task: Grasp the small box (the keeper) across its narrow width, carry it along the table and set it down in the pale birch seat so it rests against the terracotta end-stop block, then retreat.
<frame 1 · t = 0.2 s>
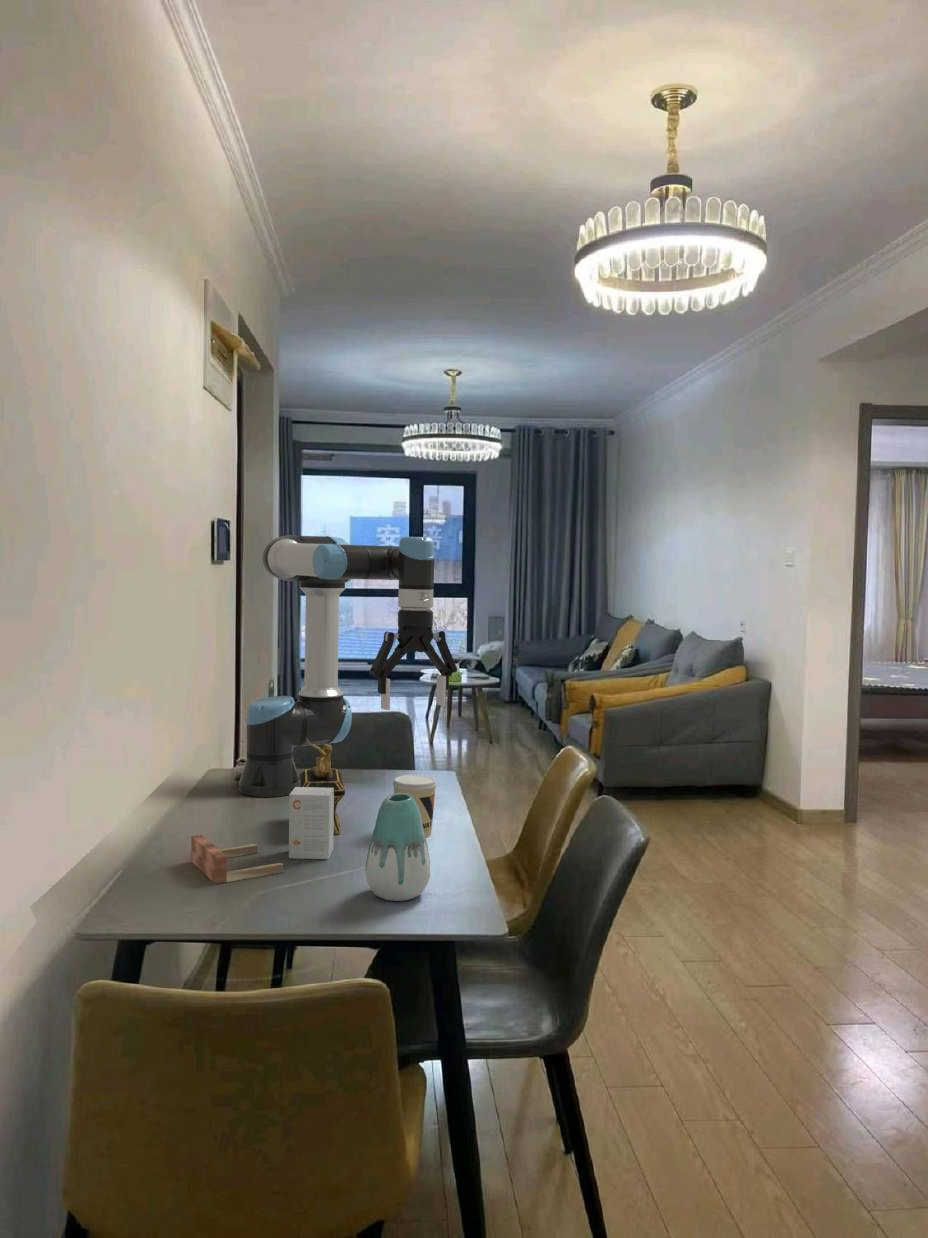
hand: (413, 707, 201), 28 cm above the table, fingers open, 13 cm apart
coffee cup: (413, 834, 202), on the table
keeper seat: (239, 866, 178), on the table
vase: (397, 895, 166), on the table
small box: (311, 855, 187), on the table
decorative box: (320, 829, 204), on the table
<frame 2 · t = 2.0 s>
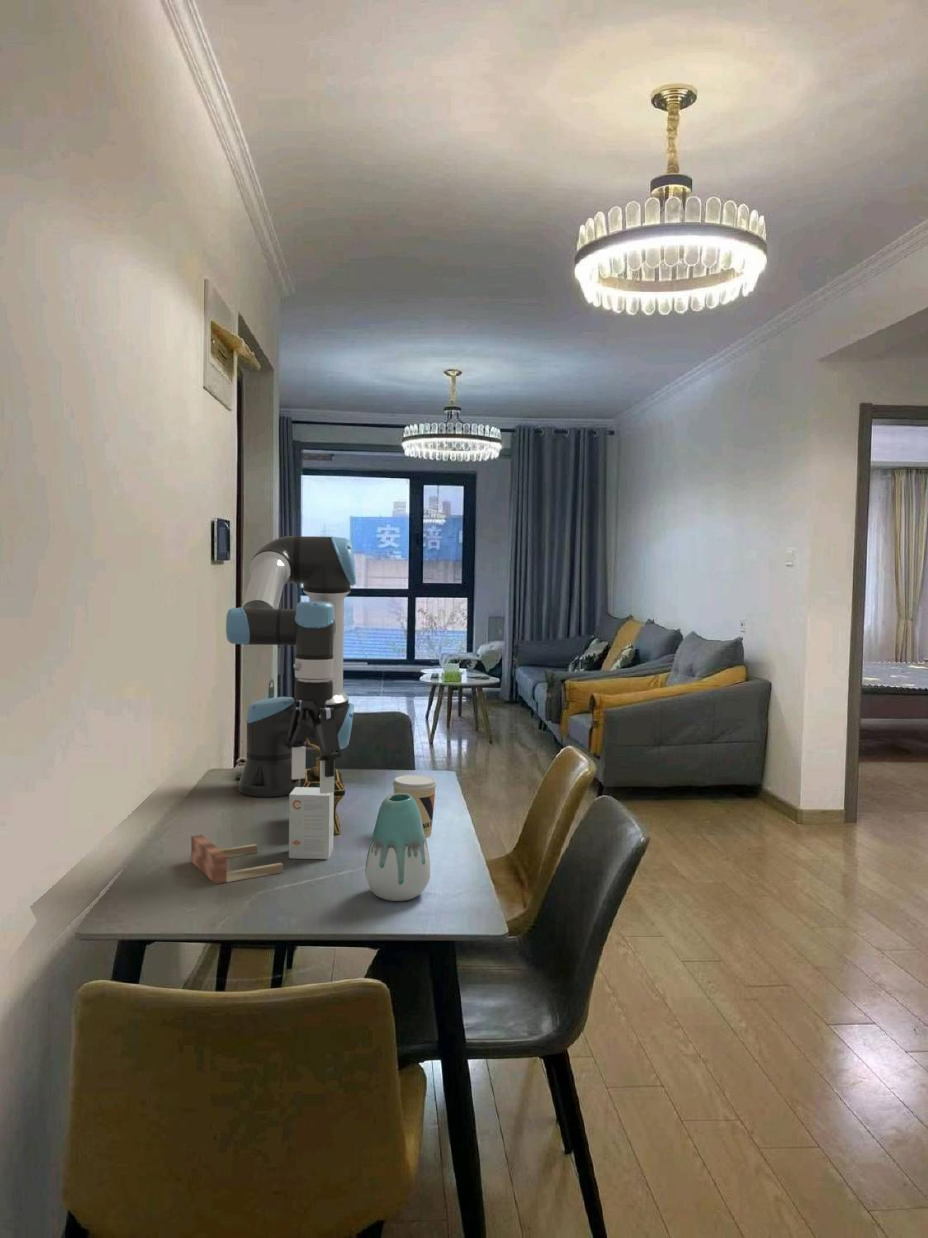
hand: (312, 785, 185), 14 cm above the table, fingers open, 13 cm apart
nothing on the table moved.
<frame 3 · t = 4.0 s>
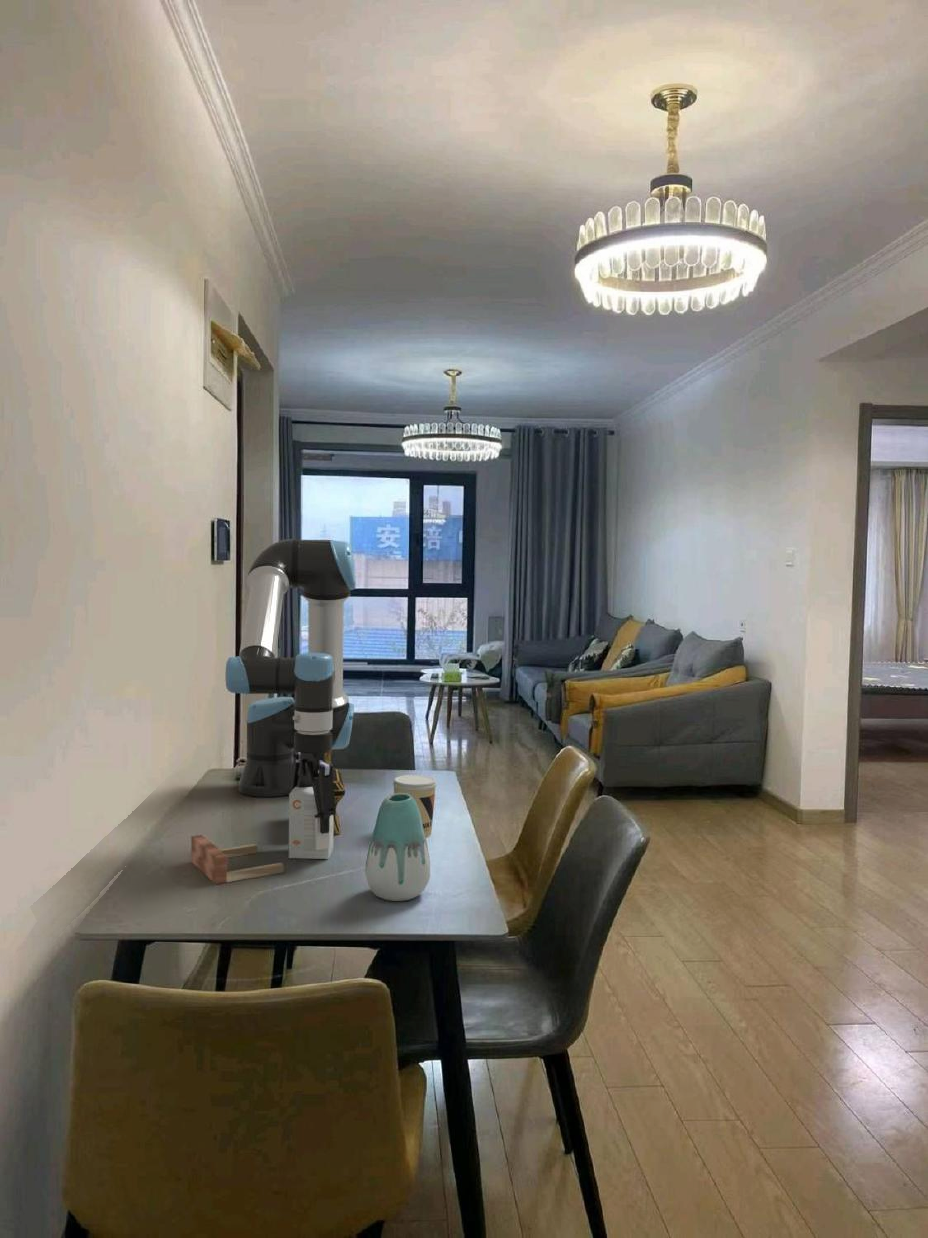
hand: (311, 841, 186), 3 cm above the table, fingers closed on small box, 9 cm apart
small box: (311, 855, 187), on the table, touching gripper
everything else where it was.
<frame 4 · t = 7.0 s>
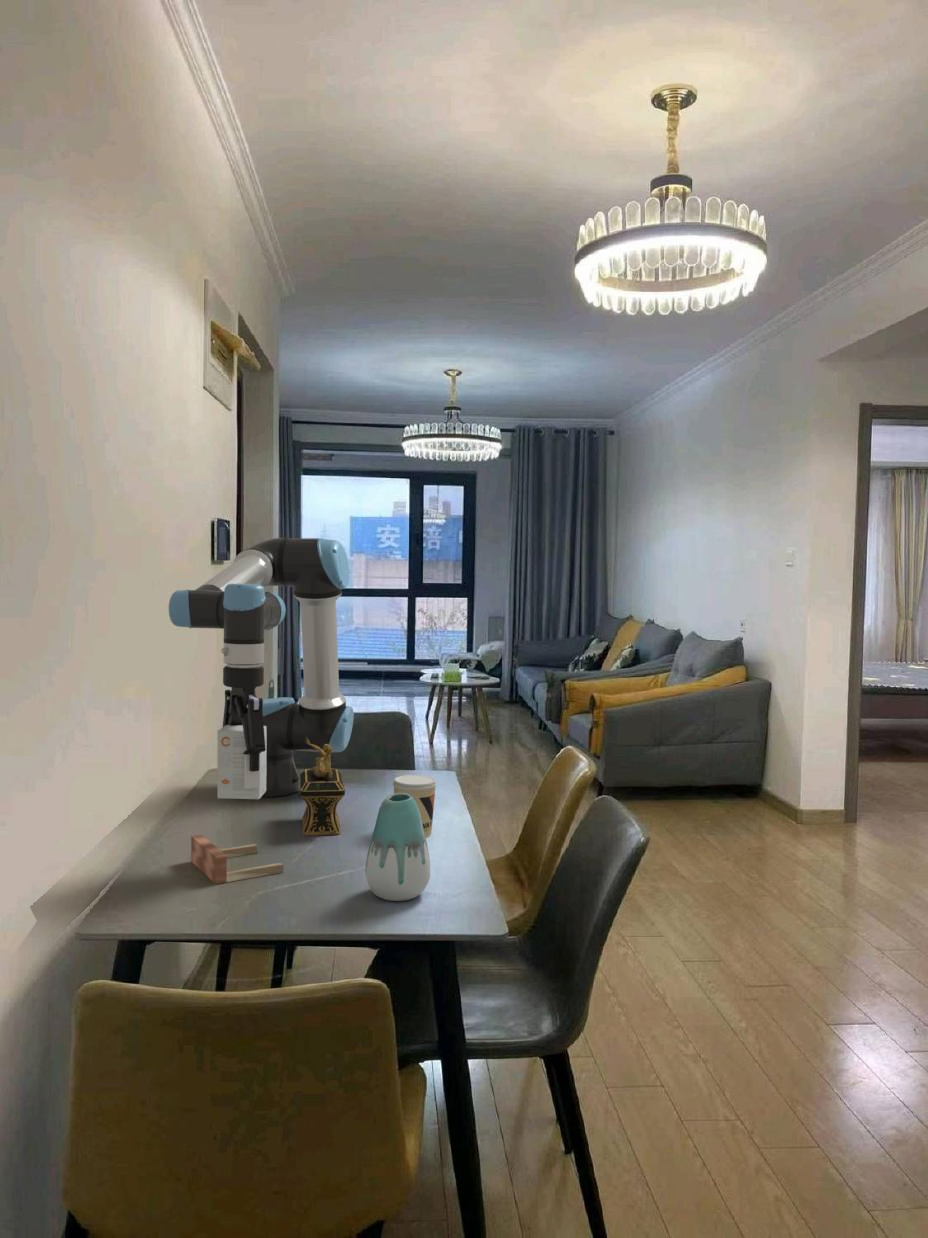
hand: (242, 781, 178), 16 cm above the table, fingers closed on small box, 9 cm apart
small box: (242, 796, 178), point 14 cm above the table, touching gripper
everything else where it was.
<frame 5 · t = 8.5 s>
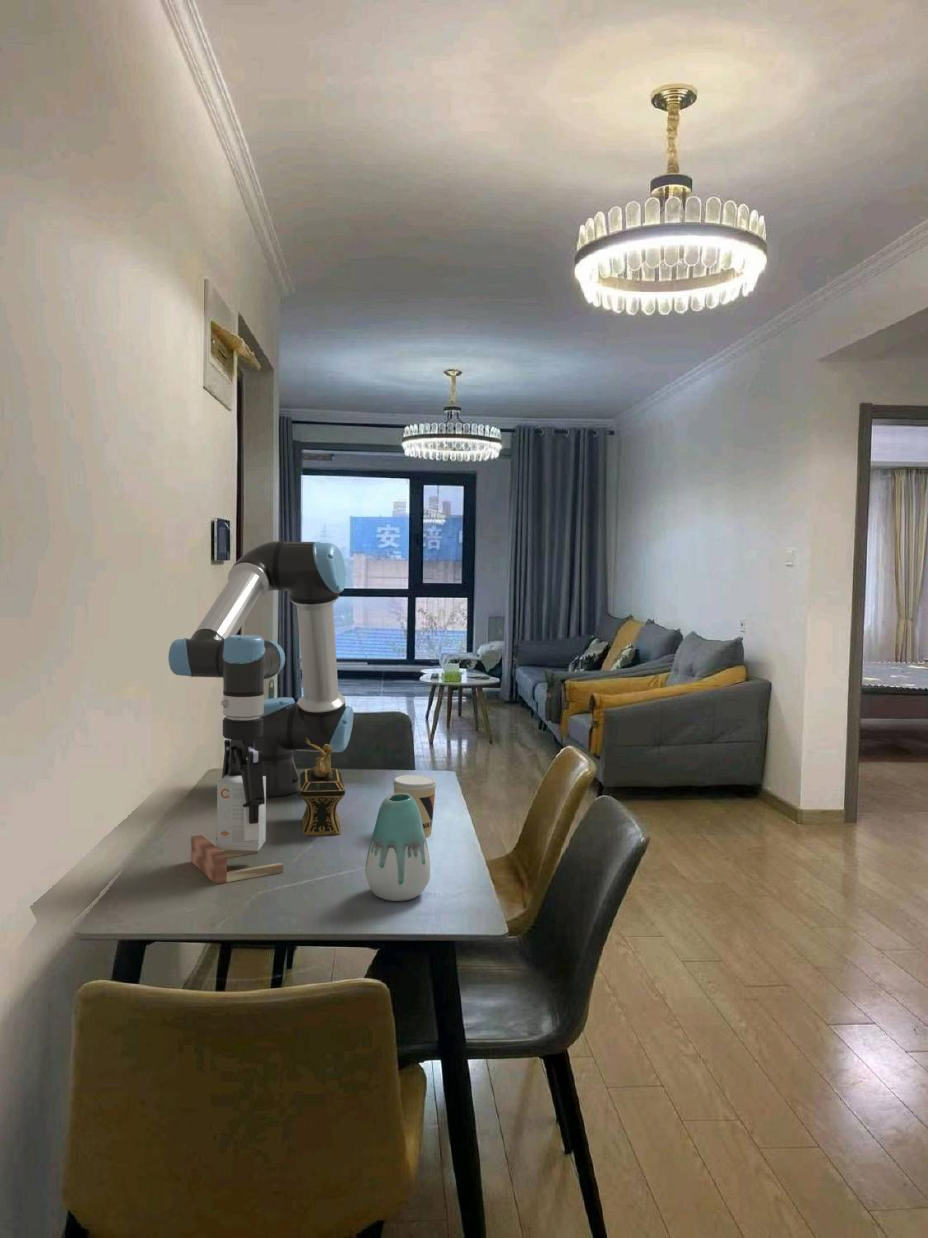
hand: (241, 832, 178), 7 cm above the table, fingers closed on small box, 9 cm apart
small box: (241, 846, 178), point 4 cm above the table, touching gripper
everything else where it was.
when the fingers open (4 cm above the table, at t = 10.0 s): small box drops 1 cm, on the table.
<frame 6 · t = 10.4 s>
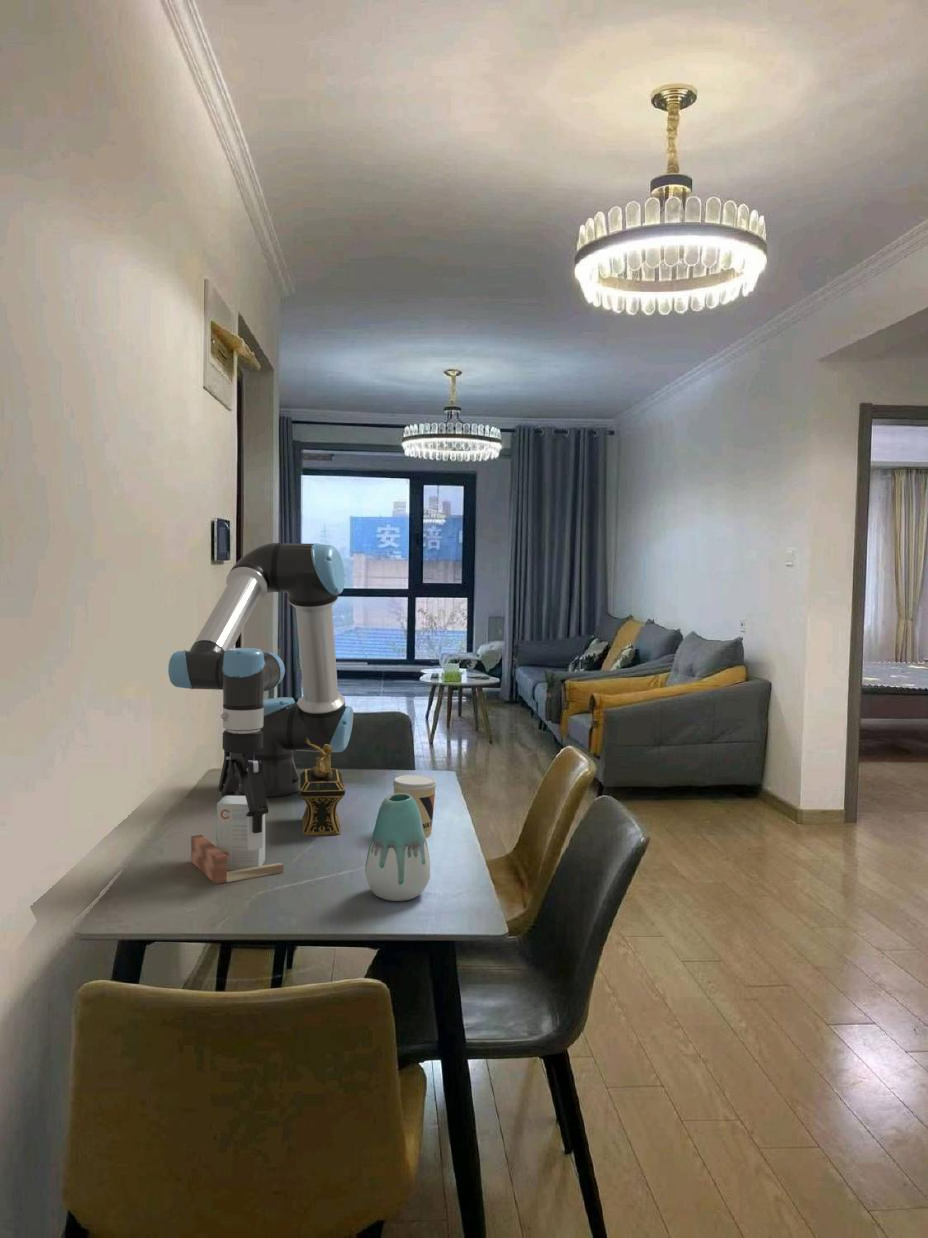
hand: (241, 839, 178), 5 cm above the table, fingers open, 13 cm apart
small box: (241, 866, 179), on the table
everything else where it was.
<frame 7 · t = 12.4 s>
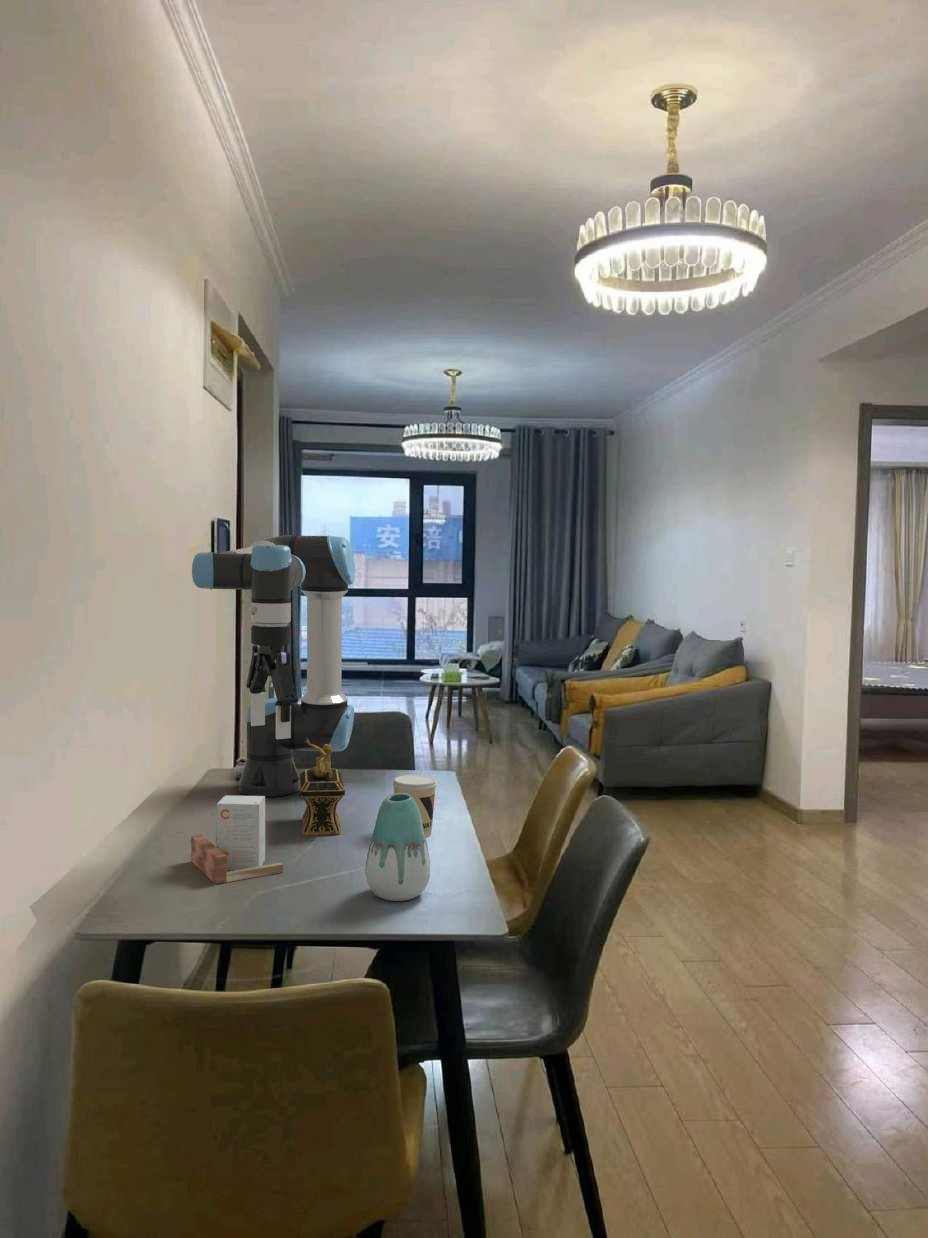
hand: (270, 731, 183), 25 cm above the table, fingers open, 13 cm apart
nothing on the table moved.
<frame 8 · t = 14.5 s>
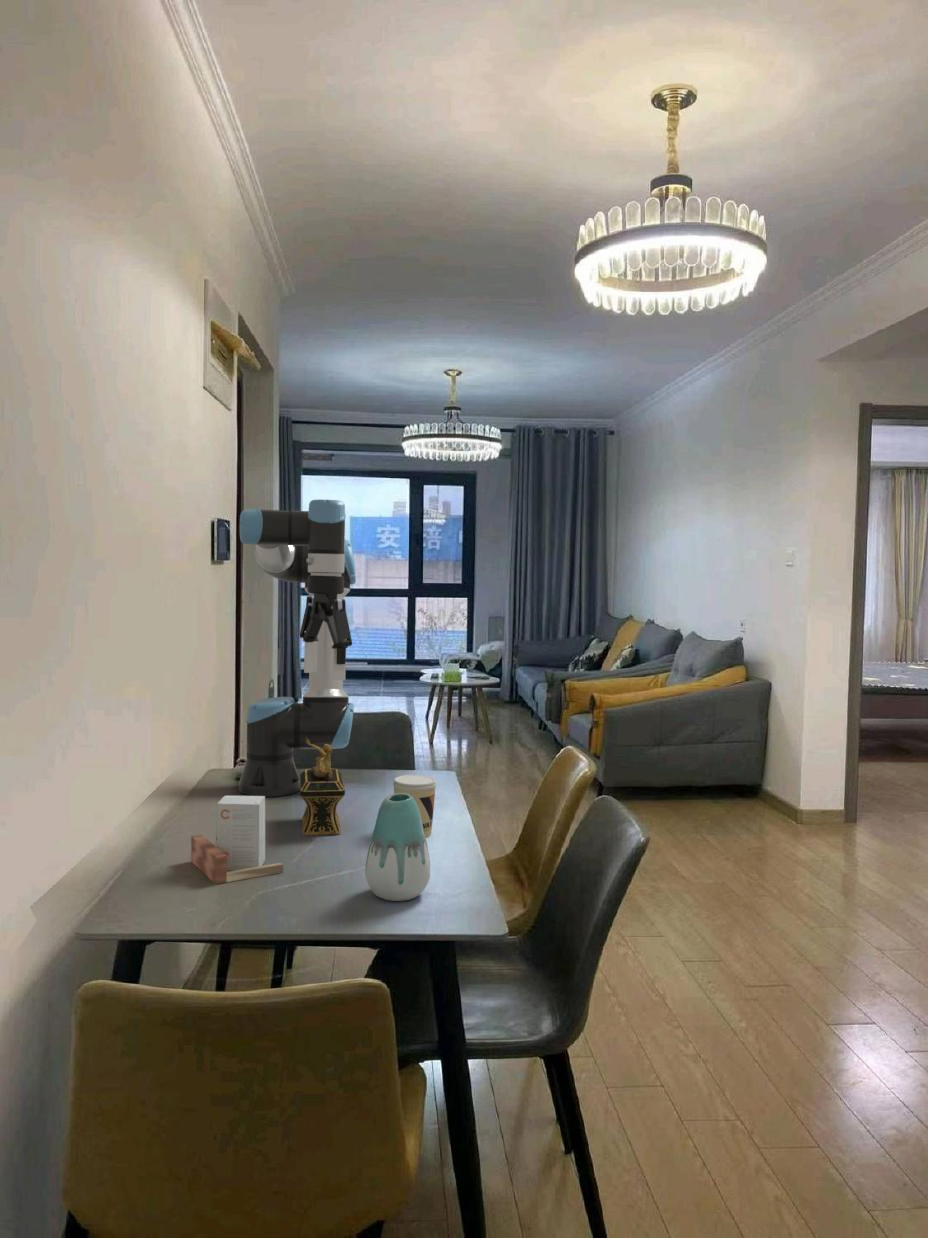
hand: (324, 676, 194), 35 cm above the table, fingers open, 13 cm apart
nothing on the table moved.
at the end: small box inside the target area (0.5 cm from its centre), on the table; small box tilted 0°; the gripper is holding nothing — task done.
